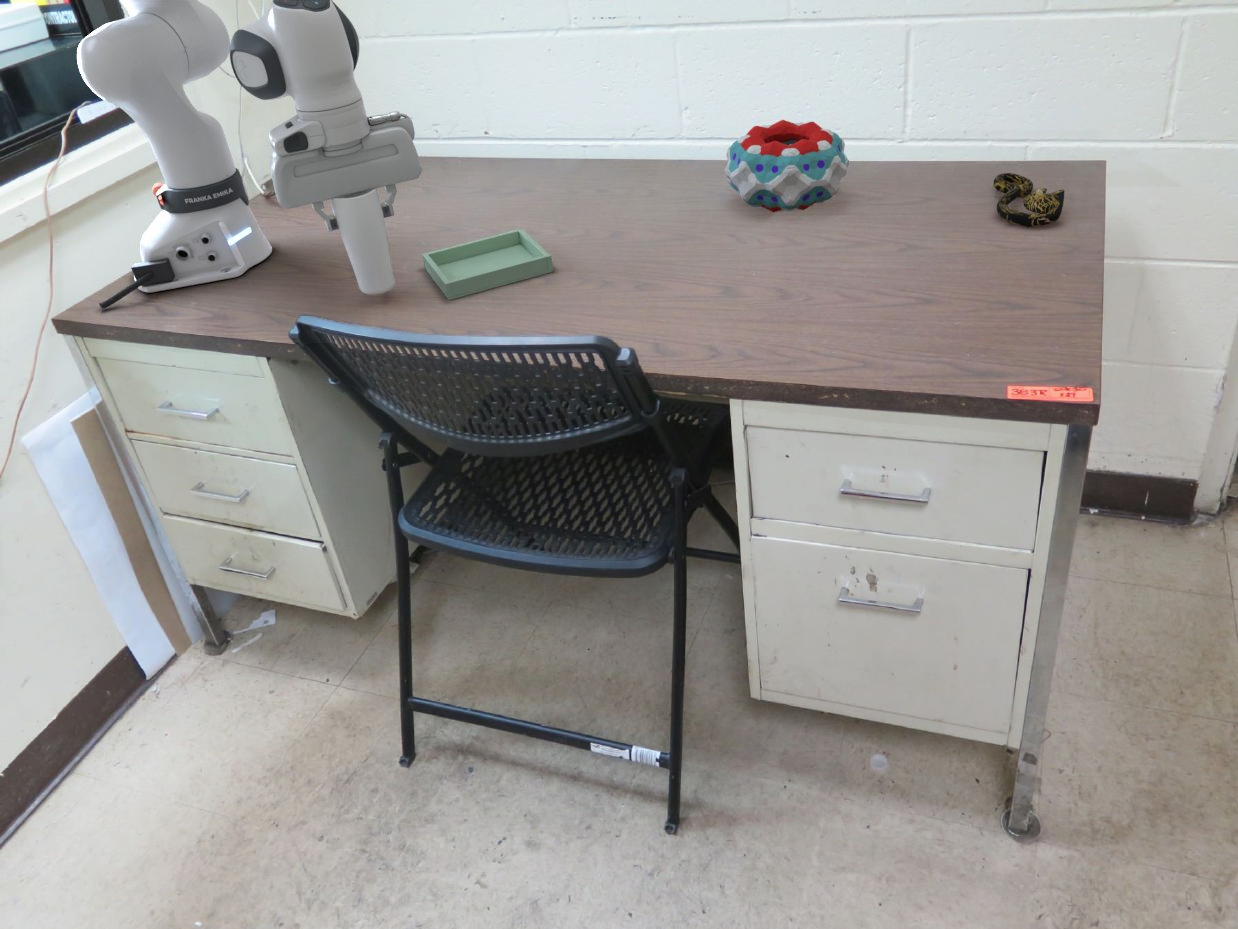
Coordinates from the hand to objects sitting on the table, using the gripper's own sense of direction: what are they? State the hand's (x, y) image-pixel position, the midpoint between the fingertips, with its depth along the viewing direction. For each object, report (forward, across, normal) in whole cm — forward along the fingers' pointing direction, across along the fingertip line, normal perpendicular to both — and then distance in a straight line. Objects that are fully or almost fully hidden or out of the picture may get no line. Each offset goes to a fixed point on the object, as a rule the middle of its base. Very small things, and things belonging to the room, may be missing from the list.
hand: (360, 222), depth 141 cm
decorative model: (+12, -68, +4) cm, 69 cm away
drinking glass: (+10, 0, 0) cm, 10 cm away
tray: (+12, -17, 0) cm, 21 cm away
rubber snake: (+12, -95, +30) cm, 100 cm away
